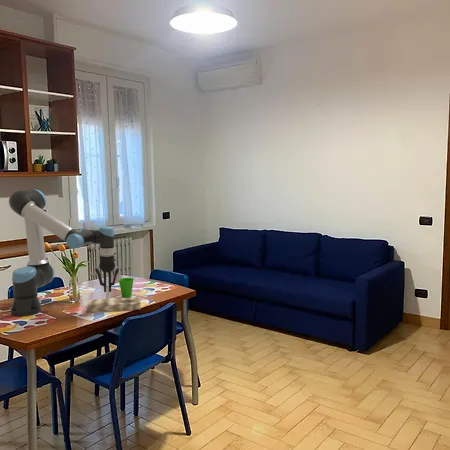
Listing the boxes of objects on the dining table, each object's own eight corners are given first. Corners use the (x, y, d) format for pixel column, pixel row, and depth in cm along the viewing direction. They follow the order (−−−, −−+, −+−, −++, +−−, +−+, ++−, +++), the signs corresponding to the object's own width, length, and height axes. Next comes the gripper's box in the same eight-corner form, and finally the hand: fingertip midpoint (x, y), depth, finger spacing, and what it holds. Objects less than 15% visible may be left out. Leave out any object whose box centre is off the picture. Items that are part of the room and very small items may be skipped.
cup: (115, 298, 273) (115, 280, 272) (125, 294, 281) (125, 277, 280) (127, 300, 269) (127, 282, 268) (137, 296, 277) (137, 278, 276)
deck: (87, 312, 247) (86, 306, 247) (89, 305, 259) (89, 299, 259) (140, 309, 252) (140, 303, 252) (140, 303, 264) (140, 297, 264)
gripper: (93, 256, 245) (94, 300, 249) (119, 256, 248) (119, 299, 251) (95, 254, 253) (95, 296, 256) (119, 253, 255) (120, 295, 258)
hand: (107, 297), depth 253 cm, fingers closed
